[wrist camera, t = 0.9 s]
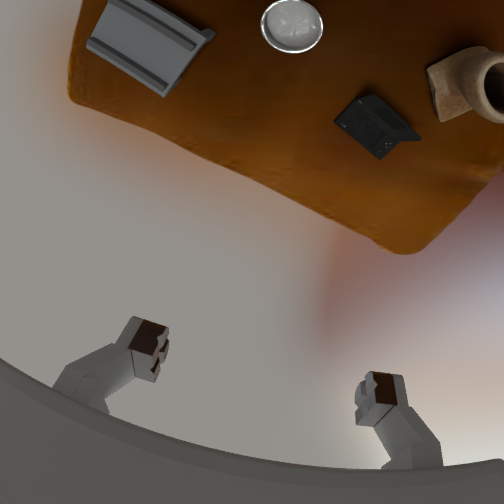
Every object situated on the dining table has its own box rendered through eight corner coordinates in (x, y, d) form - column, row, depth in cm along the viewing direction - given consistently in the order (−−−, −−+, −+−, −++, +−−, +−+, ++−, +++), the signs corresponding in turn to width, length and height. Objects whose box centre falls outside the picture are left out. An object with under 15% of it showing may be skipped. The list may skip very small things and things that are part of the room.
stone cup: (480, 27, 29) (531, 49, 19) (504, 90, 35) (550, 129, 25) (406, 57, 37) (439, 84, 27) (436, 118, 43) (468, 164, 33)
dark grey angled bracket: (328, 135, 49) (359, 129, 40) (340, 98, 48) (372, 86, 38) (381, 162, 52) (416, 164, 43) (392, 127, 51) (427, 123, 41)
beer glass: (314, -8, 33) (315, -9, 23) (327, 33, 38) (332, 49, 28) (268, 2, 35) (249, 5, 25) (282, 41, 40) (269, 61, 30)
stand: (137, -16, 34) (112, -13, 29) (218, 33, 40) (203, 40, 35) (105, 39, 42) (80, 49, 37) (177, 85, 48) (159, 100, 43)
